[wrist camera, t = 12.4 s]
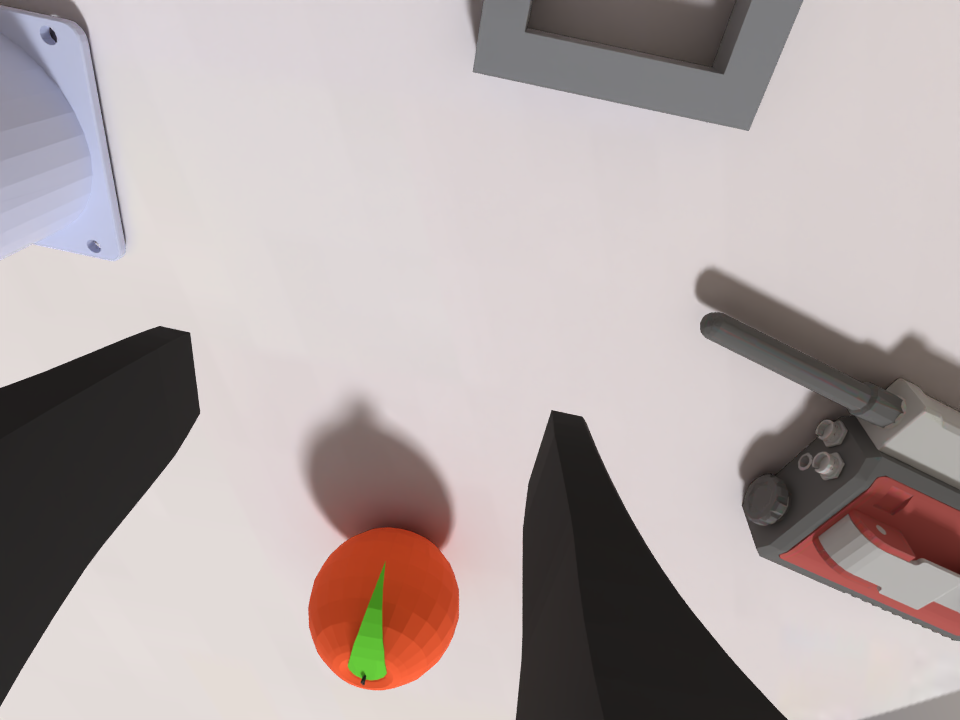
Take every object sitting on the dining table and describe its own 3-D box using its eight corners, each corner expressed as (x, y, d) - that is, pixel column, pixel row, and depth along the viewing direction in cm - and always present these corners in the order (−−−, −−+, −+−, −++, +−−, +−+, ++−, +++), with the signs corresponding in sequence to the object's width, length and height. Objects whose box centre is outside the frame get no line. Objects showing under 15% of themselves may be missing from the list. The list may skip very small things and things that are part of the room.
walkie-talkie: (1136, 493, 23) (715, 277, 21) (1242, 589, 20) (748, 343, 17) (948, 603, 28) (586, 440, 25) (1006, 697, 24) (590, 519, 22)
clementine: (336, 469, 28) (274, 604, 22) (480, 496, 27) (458, 638, 22) (336, 572, 32) (286, 707, 26) (460, 596, 32) (437, 737, 26)
